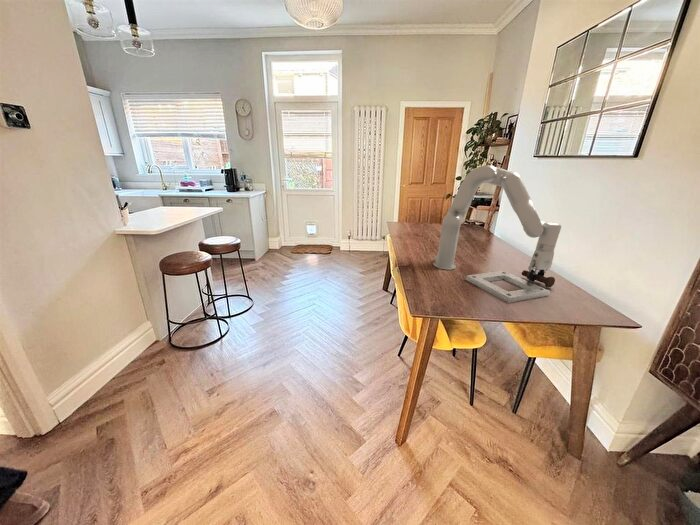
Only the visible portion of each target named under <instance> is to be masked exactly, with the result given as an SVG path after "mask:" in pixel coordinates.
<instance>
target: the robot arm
mask: <svg viewBox="0 0 700 525" xmlns="http://www.w3.org/2000/svg"><path fill="white" fill-rule="evenodd" d="M484 183H486V184H490V185H494V186H496V187H499V188H502V190H503V191H504V193H505V195H506V197H507V199H508V202H509V204H510V206H511V207H512V210H513V211H514V213H515V214H516V215H517V218H518V219H519V222H520V223H521V226H522V230H523V231H524V233H525V234H526V235H527V237H530V238H532V239H536V238H537V239H538V240H537V243H536V246H535V250H534V252H533V254H532V256H531V260H530V261H529V262H530V263H529V266H528V267H527V269H528V271H530V272H529V273H530V274H529V278H528V279H527V281H529V282H531V283H535V281H536V280H535V278H536V274H538V275H541V276H544V277H545V274H547V271H548V270H549V269H551V267H552V264H553V260H554V255H555V249H556V245H557V241H558V239H559V235H560V232H561V229H562V224H561V223H558V222H553V221H542V220H541V218H540V217H539V214H538V213H537V210H536V209H535V206H534V203H533V201H532V198H531V196H530V195H529V191H528V190H527V187H526V186H525V183H524V181H523V179H522V177H521V175H520V174H519V173H518V172H515V171H510V170H508V169H503V168H499V167H496V166H494V165H491V164H486V165H481V166H478V167H475V168H473V169H471V170H470V171H469V172H468V173H467V175H466V176H464V179H463V181H462V183H461V184H460V186H459V188H458V190H457V192H456V194H455V195H454V197H453V199H452V202H451V205H450V207H449V209H448V210H447V213H446V214H445V215H444V217H443V219H442V223H441V231H440V239H439V245H438V251H437V255H436V254H435V256H433V259H434V260H435V261H433V266H434V267H435V268H437V269H440V270H444V271H445V270H446V271H448V270H449V271H450V270H451V271H453V270H455V269H456V268H457V267H456V264H454V263H455V257H456V251H457V247H458V242H459V241H458V240H459V237H460V235H459V234H460V229H461V226H462V223H463V220H464V218H465V216H466V214H467V212H468V210H469V209H470V207H471V205H472V201H473V199H474V196H475V194H476V193H477V191H478V189H479V187H480V186H481V185H482V184H484Z"/></svg>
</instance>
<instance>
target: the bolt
mask: <svg viewBox="0 0 700 525" xmlns="http://www.w3.org/2000/svg"><path fill="white" fill-rule="evenodd" d="M529 272H530V271H529V270H525V269H524V270H522V272H521V276H523V277H525V278H526V280H528V278H529V274H530V273H529ZM535 281H536V282H539V283H542V284H544V286H545V287H546V288H551V287H553V286H554V284H555V282H556V279H555V277H554V276H548V277H547V276H545V275H544V276H541V275H538V274H537V273H536V278H535Z"/></svg>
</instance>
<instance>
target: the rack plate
mask: <svg viewBox="0 0 700 525" xmlns="http://www.w3.org/2000/svg"><path fill="white" fill-rule="evenodd" d="M502 280H504V281H506V282H507V283H510V284H513V285H515V286H516V287H518V288H520V289H518V290H511V291H507V290H506V289H503V288H502V287H500V286H499V285H496V284H494V283H492V282H495V281H502ZM465 281H468V282H469V283H471V284H473V285H475V286H477V287H478V288H480V289H482V290H483V291H486V292H487V293H489V294H491V295H493V296H494V297H497V298H498V299H500V300H502V301H504V302H506V303H508V304H510V303H515V302H521V301H527V300H532V299H537V298H538V297H539V298H543V297H548V296H549V295H550V292H551V290H549V289H547V288H544V287H542V286H539V285H537V284H535V283H534V282H532V281H529V280H527V279H523V278H521V277H520V276H519V277H518V276H517V275H514V274H512V273H510V272H508V271H505V270H499V271H493V272H491V271H490V272H485V273H483V272H482V273H476V274H469V275H466V278H465ZM521 288H522V289H521ZM549 297H550V296H549Z"/></svg>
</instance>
